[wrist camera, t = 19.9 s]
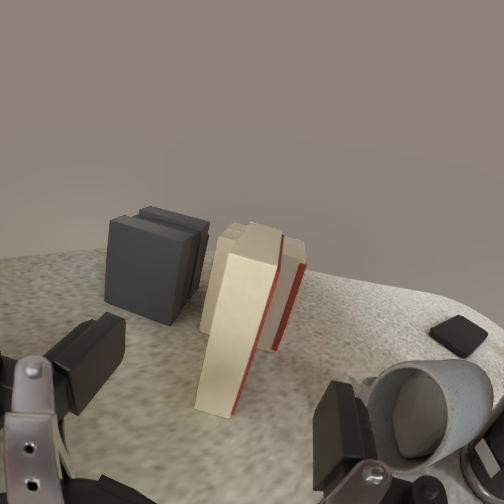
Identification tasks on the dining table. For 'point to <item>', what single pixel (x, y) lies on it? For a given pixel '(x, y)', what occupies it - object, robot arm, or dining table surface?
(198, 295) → the dining table surface
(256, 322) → the thin ivory book
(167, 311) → the grey books
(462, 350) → the phone
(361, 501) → the robot arm
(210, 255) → the dining table surface
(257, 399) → the dining table surface
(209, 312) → the ivory books
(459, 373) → the ceramic mug
